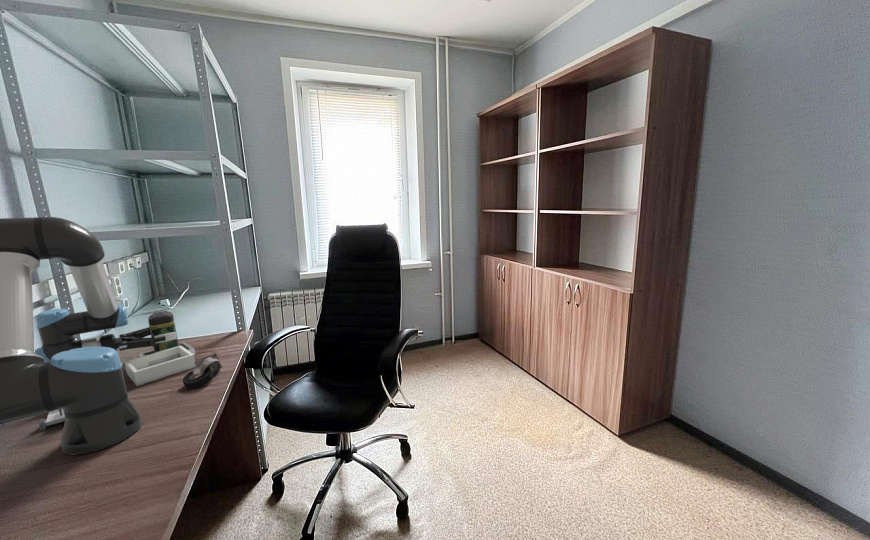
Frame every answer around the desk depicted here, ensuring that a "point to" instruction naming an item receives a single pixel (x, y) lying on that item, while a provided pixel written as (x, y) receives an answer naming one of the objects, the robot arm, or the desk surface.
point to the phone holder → (52, 418)
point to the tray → (159, 365)
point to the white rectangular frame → (169, 356)
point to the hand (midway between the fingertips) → (174, 331)
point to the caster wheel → (203, 372)
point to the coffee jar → (162, 329)
